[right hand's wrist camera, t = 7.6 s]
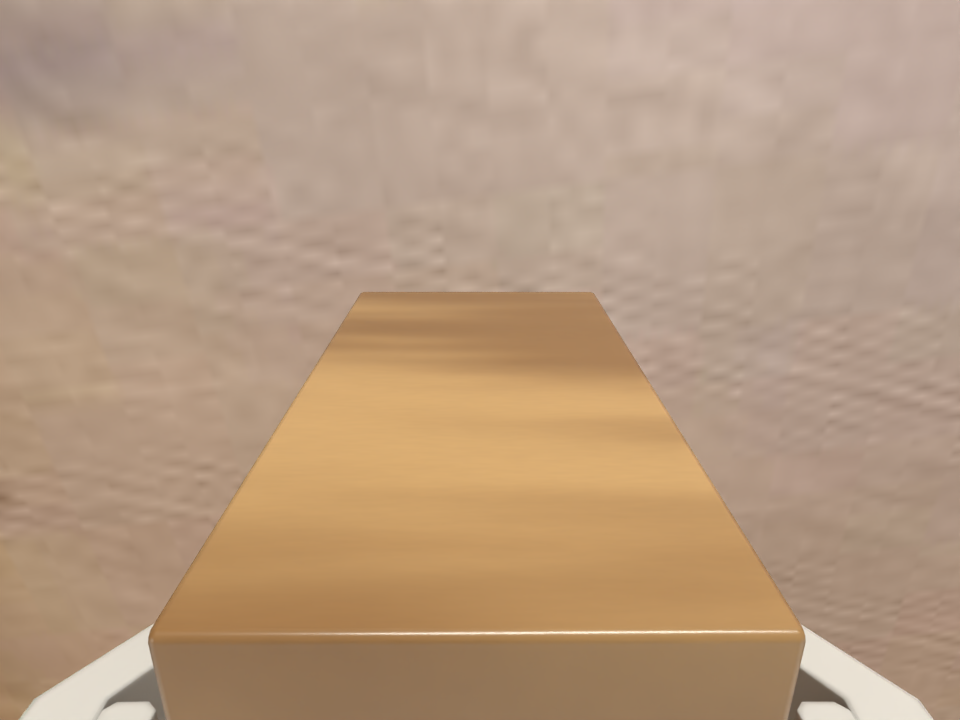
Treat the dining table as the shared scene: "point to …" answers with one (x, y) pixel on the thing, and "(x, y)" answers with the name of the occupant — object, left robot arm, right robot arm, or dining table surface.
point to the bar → (477, 539)
